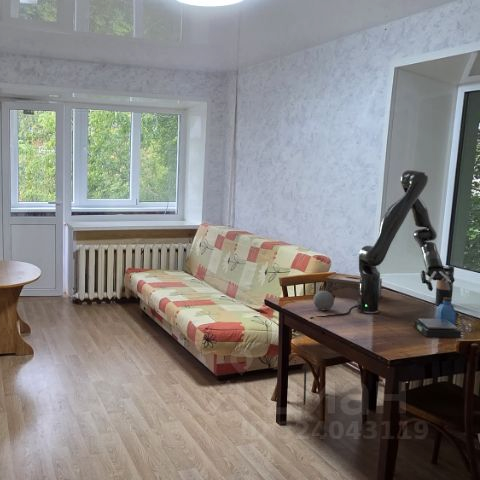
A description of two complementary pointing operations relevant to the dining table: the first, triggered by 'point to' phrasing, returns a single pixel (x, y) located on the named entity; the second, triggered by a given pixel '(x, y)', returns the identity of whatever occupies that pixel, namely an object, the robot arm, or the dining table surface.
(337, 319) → the dining table surface
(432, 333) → the scale
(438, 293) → the travel mug
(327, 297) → the decorative ball
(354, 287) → the tissue box cover
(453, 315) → the perfume bottle
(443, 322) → the scale pan
